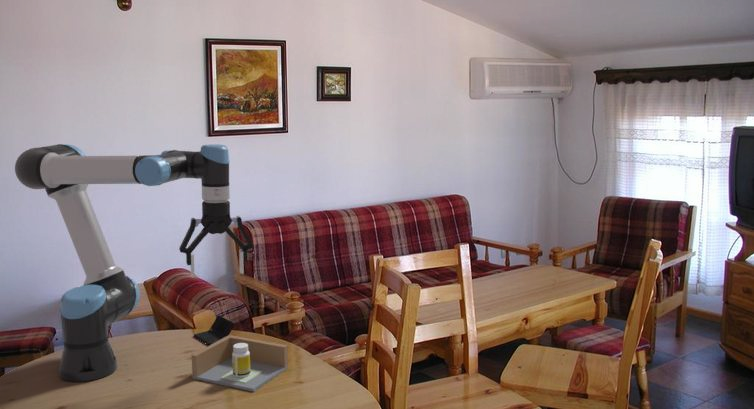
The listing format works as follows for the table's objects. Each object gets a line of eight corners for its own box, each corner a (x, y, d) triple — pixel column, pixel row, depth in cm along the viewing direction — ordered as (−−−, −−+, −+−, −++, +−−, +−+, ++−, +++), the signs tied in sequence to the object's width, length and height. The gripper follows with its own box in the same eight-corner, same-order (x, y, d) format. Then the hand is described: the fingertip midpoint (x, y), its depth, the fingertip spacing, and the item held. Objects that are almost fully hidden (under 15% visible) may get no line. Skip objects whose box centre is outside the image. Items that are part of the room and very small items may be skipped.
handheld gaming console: (187, 333, 221) (205, 306, 224) (202, 341, 227) (219, 314, 229) (209, 347, 214) (227, 319, 217) (224, 355, 220) (241, 327, 222)
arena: (192, 378, 191) (191, 355, 190) (229, 356, 207) (229, 334, 205) (253, 391, 183) (252, 367, 182) (287, 368, 198) (287, 345, 197)
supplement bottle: (254, 372, 193) (253, 343, 191) (243, 379, 189) (242, 349, 187) (240, 369, 195) (239, 341, 193) (229, 376, 191) (228, 346, 189)
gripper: (169, 204, 187) (172, 281, 190) (263, 201, 195) (263, 274, 198) (168, 199, 194) (170, 274, 197) (258, 196, 202) (259, 268, 205)
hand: (217, 274), depth 198 cm, fingers open, 13 cm apart
